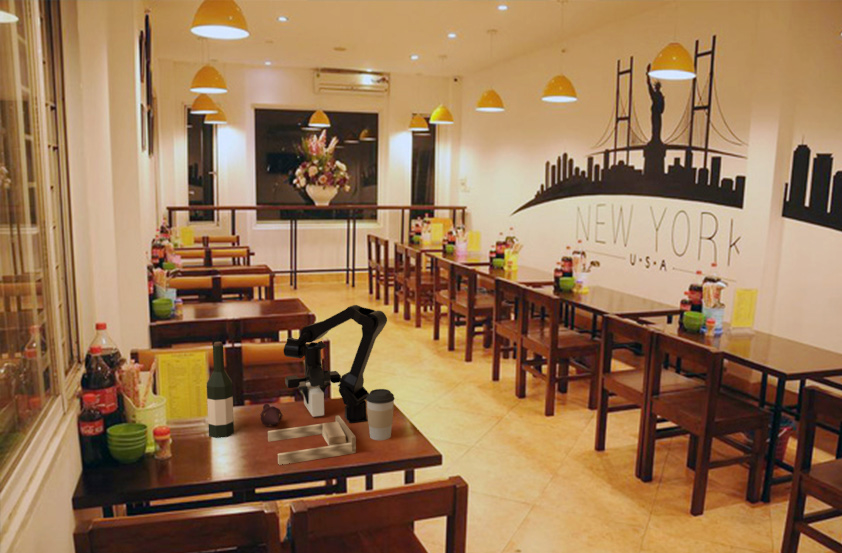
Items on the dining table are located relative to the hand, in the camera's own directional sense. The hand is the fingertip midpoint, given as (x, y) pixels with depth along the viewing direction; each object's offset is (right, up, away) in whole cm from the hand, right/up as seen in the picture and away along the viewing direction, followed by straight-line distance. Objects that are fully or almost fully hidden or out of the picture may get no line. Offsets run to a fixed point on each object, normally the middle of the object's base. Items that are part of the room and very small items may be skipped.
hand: (313, 402), depth 226 cm
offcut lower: (+11, -8, -26) cm, 29 cm away
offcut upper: (+11, -6, -26) cm, 29 cm away
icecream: (-12, -5, -12) cm, 18 cm away
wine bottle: (-27, -6, -19) cm, 33 cm away
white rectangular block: (0, -2, 0) cm, 2 cm away
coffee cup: (+25, -7, -20) cm, 33 cm away
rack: (+4, -8, -29) cm, 30 cm away
